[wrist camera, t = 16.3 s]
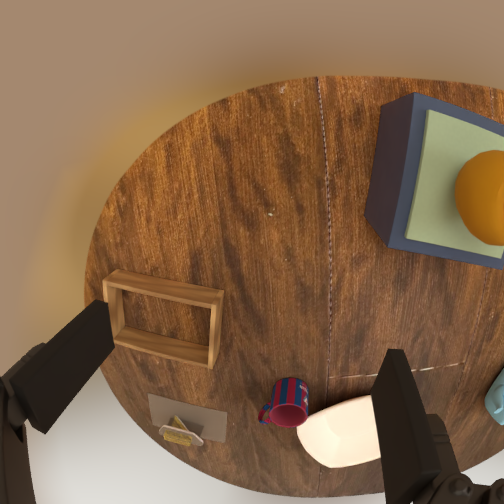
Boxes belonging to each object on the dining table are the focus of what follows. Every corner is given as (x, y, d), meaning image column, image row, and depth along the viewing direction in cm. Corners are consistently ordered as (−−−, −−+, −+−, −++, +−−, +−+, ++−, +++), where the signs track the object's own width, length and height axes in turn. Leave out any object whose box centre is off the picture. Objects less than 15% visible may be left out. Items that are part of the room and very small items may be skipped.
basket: (117, 268, 53) (102, 280, 48) (224, 290, 51) (216, 305, 46) (122, 327, 57) (109, 341, 53) (219, 352, 55) (212, 369, 51)
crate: (381, 105, 38) (414, 91, 25) (476, 134, 36) (530, 138, 23) (363, 216, 43) (387, 247, 30) (457, 235, 42) (502, 270, 29)
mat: (426, 109, 25) (429, 109, 24) (521, 146, 24) (525, 147, 23) (404, 236, 30) (406, 238, 29) (497, 256, 28) (501, 258, 28)
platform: (147, 392, 63) (135, 412, 56) (227, 412, 61) (220, 435, 54) (152, 424, 67) (143, 443, 61) (225, 443, 65) (218, 464, 59)
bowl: (324, 456, 62) (324, 473, 57) (285, 402, 57) (282, 422, 52) (414, 426, 56) (418, 444, 51) (392, 364, 51) (397, 383, 46)
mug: (314, 395, 56) (314, 421, 49) (268, 410, 59) (264, 435, 52) (298, 372, 54) (297, 399, 48) (251, 388, 57) (245, 414, 51)
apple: (507, 156, 24) (559, 167, 16) (496, 233, 27) (541, 263, 19) (443, 139, 25) (490, 142, 17) (433, 223, 28) (473, 254, 20)
